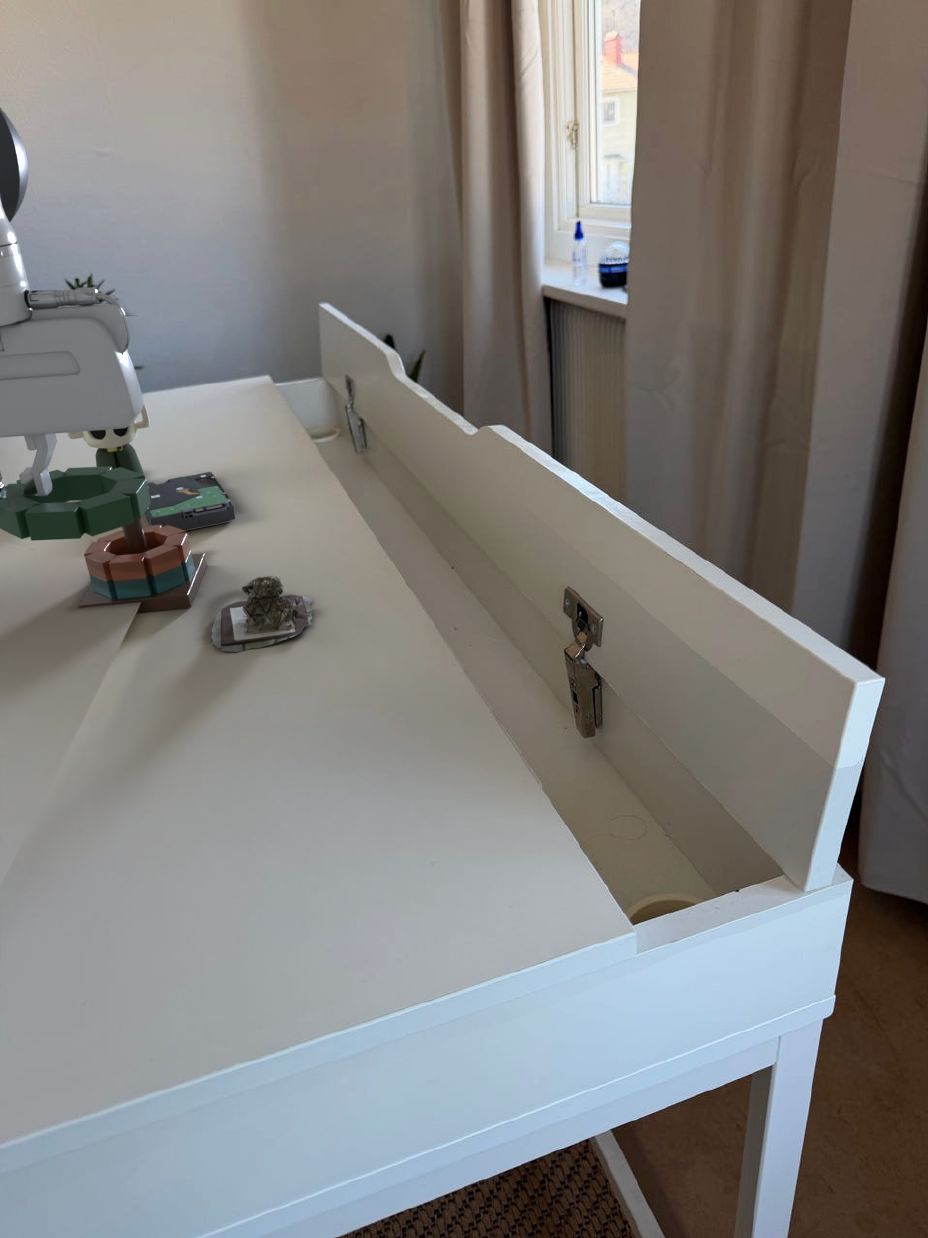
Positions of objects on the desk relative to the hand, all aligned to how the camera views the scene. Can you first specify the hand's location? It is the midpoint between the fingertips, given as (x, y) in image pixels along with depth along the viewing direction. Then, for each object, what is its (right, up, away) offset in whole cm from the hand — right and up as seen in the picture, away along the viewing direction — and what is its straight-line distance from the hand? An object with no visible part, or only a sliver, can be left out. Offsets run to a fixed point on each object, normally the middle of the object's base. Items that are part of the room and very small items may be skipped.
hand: (15, 495), depth 68 cm
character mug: (-16, +9, +65) cm, 68 cm away
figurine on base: (+13, -9, +24) cm, 29 cm away
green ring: (+4, -1, +1) cm, 4 cm away
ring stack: (-1, -6, +33) cm, 33 cm away
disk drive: (-4, +5, +54) cm, 55 cm away
